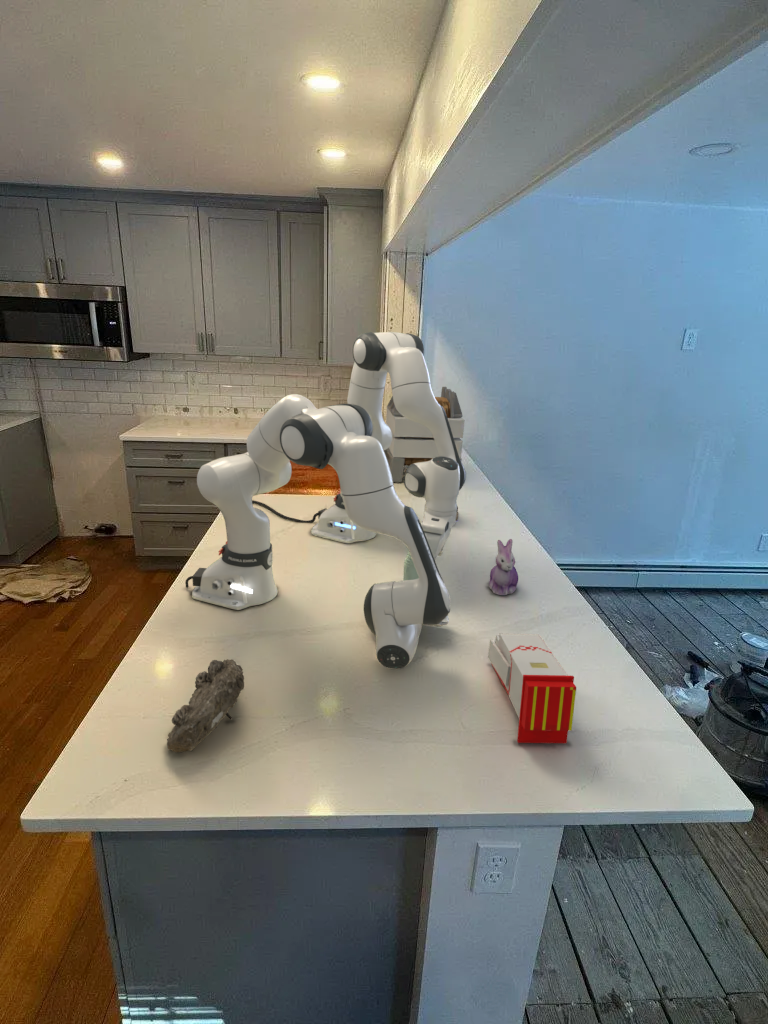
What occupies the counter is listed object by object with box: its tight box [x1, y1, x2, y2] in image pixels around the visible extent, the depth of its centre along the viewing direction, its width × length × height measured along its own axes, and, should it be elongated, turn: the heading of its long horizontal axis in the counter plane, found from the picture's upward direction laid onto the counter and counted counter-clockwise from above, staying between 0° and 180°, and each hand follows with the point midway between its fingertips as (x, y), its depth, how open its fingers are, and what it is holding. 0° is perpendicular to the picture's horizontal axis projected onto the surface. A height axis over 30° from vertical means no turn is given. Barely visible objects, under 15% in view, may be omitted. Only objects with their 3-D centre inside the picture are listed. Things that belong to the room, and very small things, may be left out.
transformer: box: [384, 386, 465, 483], centre depth 268 cm, size 34×33×41 cm
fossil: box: [166, 658, 245, 754], centre depth 106 cm, size 22×10×15 cm
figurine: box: [488, 538, 519, 596], centre depth 161 cm, size 9×10×15 cm
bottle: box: [402, 551, 419, 581], centre depth 144 cm, size 5×5×20 cm
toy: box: [487, 632, 577, 744], centre depth 116 cm, size 12×13×30 cm
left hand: (411, 593), depth 147 cm, fingers closed on bottle, 5 cm apart
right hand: (435, 561), depth 161 cm, fingers open, 8 cm apart
